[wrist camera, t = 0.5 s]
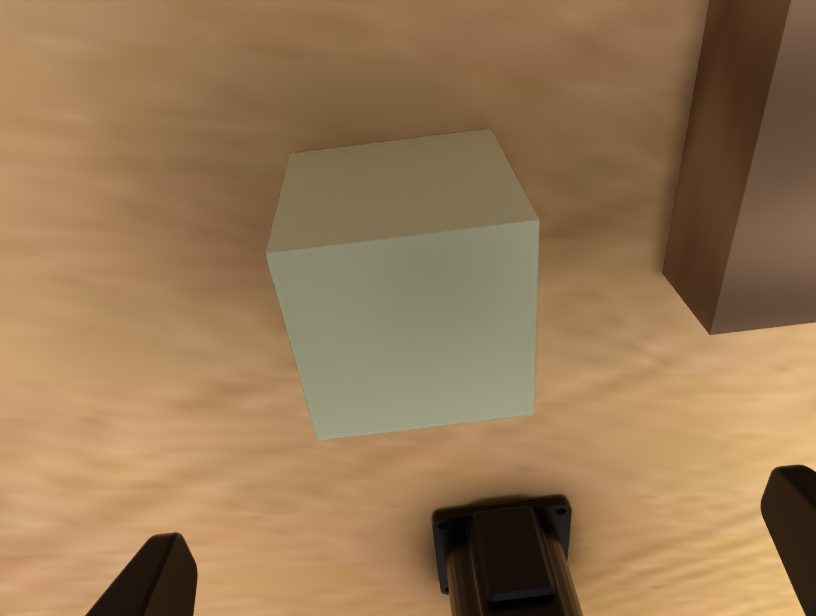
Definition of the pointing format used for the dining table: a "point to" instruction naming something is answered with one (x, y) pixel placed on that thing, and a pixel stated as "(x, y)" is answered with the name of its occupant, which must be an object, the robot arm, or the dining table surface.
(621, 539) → the dining table surface
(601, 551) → the dining table surface
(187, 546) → the robot arm
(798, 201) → the walnut box
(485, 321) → the sage cube
